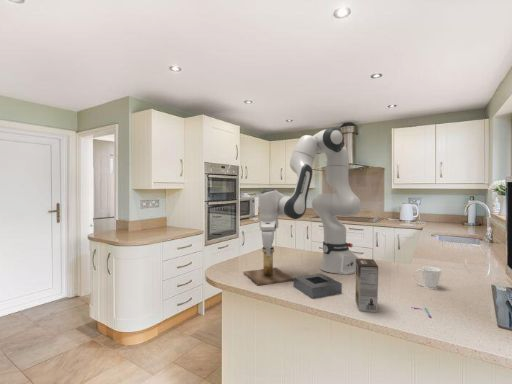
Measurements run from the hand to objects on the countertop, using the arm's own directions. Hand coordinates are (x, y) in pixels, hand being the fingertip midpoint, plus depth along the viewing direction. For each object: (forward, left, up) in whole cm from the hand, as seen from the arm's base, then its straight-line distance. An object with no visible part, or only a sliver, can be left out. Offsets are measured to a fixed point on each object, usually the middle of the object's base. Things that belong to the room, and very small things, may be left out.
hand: (269, 253), depth 131 cm
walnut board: (+1, 0, -11) cm, 11 cm away
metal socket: (-11, +22, -11) cm, 27 cm away
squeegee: (-35, +50, -12) cm, 62 cm away
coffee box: (-18, +42, -12) cm, 47 cm away
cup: (-57, +37, -12) cm, 69 cm away
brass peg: (+1, 0, -10) cm, 10 cm away
